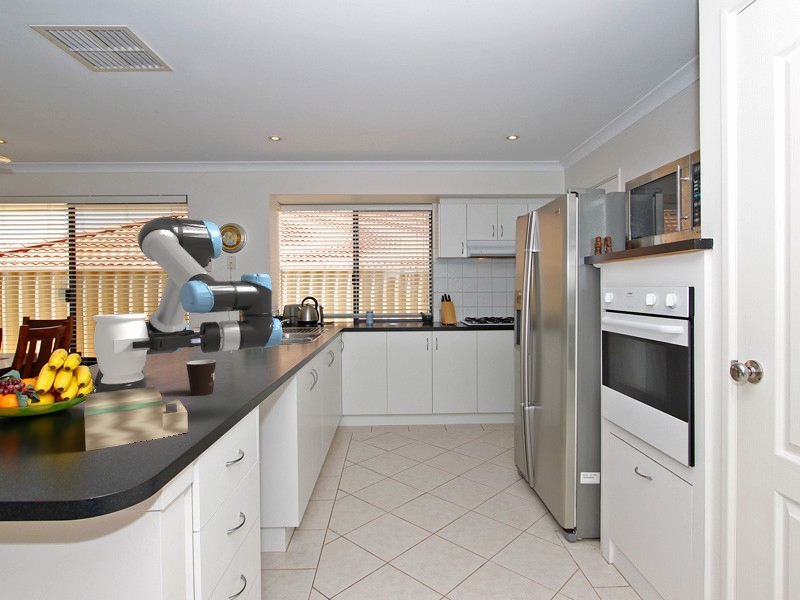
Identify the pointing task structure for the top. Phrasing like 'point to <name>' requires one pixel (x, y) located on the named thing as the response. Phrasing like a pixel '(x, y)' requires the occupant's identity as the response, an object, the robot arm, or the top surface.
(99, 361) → the jar
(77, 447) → the top surface
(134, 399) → the step stand
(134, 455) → the top surface
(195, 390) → the coffee mug
